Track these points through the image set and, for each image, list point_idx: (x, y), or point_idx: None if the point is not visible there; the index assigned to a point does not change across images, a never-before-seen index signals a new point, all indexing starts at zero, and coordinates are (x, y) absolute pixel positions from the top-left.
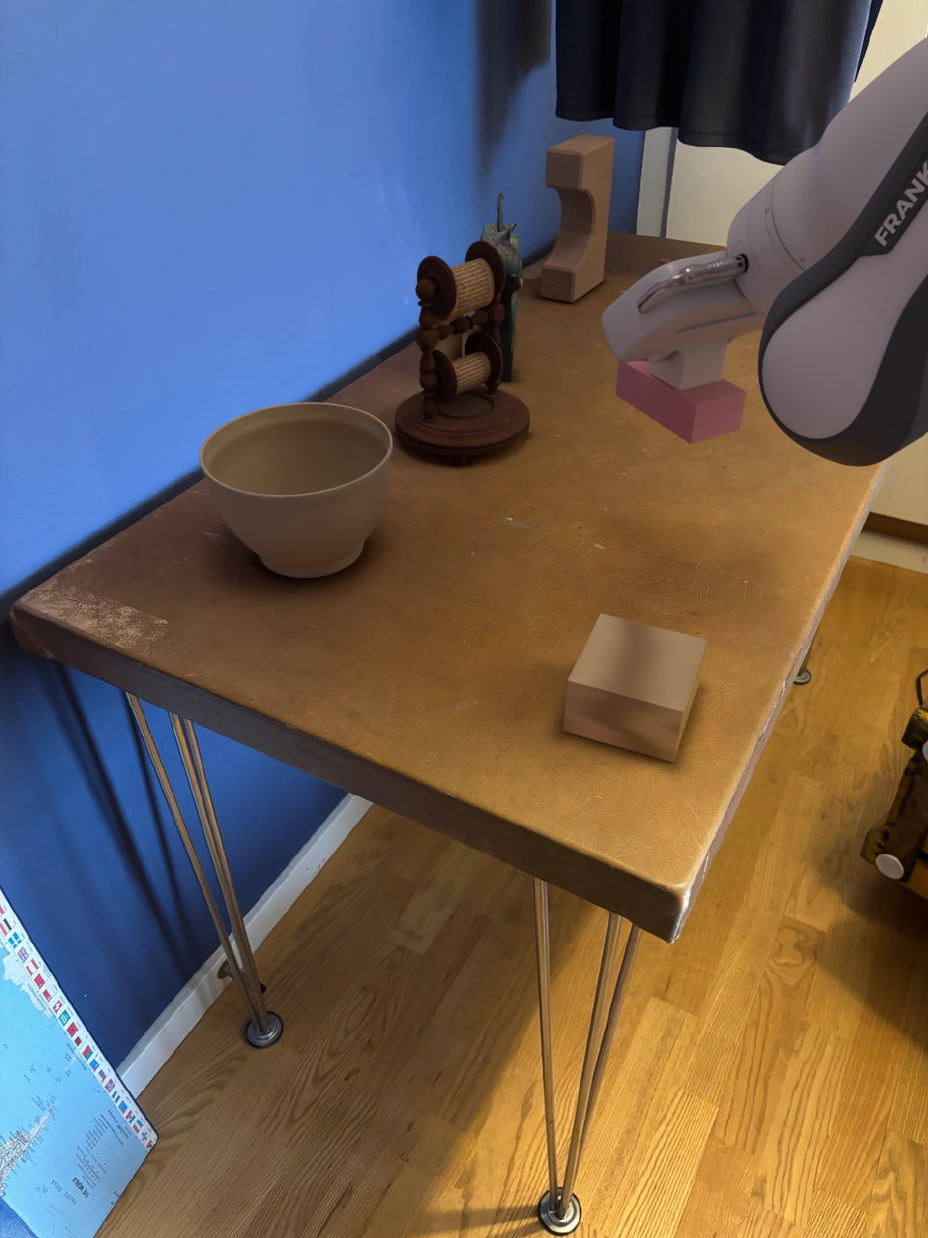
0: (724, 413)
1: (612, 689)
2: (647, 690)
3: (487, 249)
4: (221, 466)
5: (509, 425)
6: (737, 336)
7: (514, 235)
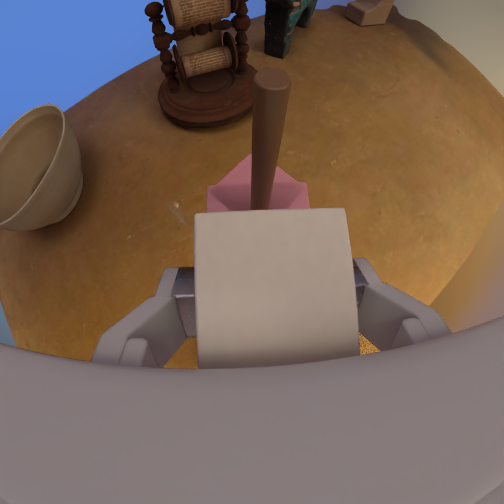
0: None
1: None
2: None
3: None
4: (12, 148)
5: (227, 109)
6: (367, 337)
7: None
